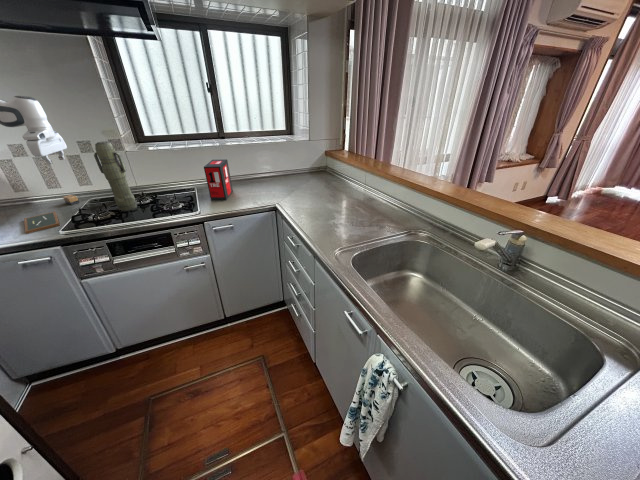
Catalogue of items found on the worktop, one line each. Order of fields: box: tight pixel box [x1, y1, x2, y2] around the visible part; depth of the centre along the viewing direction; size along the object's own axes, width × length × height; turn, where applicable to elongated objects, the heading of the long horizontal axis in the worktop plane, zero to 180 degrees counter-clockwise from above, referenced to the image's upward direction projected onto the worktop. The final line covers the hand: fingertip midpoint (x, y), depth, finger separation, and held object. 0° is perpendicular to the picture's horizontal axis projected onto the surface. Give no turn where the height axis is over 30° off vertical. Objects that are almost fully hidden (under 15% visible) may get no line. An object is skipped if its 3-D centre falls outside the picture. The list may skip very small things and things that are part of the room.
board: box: [23, 211, 61, 235], centre depth 132 cm, size 20×12×1 cm, turn 45°
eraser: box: [62, 194, 80, 206], centre depth 154 cm, size 6×4×4 cm, turn 65°
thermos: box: [93, 141, 138, 212], centre depth 140 cm, size 9×12×35 cm
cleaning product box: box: [203, 158, 234, 202], centre depth 160 cm, size 16×9×20 cm, turn 3°
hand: (56, 161), depth 138 cm, fingers open, 8 cm apart
